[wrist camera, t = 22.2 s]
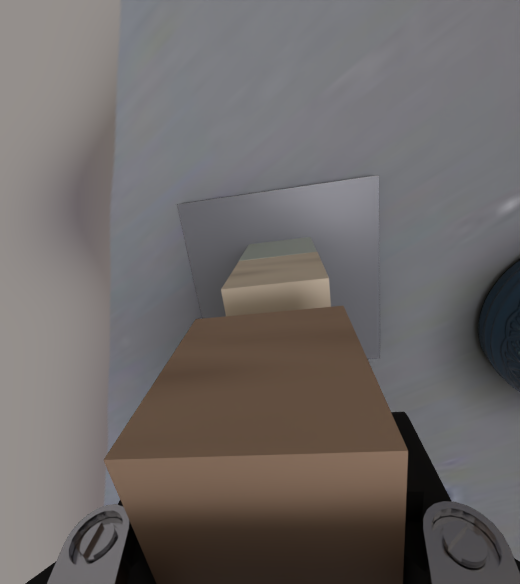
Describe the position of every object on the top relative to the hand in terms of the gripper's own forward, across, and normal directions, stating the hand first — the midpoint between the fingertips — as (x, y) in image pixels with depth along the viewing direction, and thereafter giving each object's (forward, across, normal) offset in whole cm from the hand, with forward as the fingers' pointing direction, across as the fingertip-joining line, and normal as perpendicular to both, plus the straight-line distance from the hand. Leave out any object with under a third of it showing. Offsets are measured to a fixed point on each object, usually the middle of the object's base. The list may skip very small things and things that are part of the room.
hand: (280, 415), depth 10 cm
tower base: (+15, 0, 0) cm, 15 cm away
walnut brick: (0, 0, 0) cm, 0 cm away
